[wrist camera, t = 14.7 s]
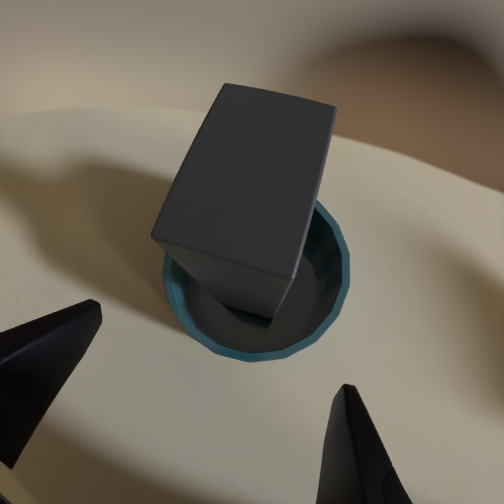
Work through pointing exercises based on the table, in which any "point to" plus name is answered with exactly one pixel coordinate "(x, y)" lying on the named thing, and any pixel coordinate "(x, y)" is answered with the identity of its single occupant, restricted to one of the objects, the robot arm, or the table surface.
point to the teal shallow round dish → (290, 312)
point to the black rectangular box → (247, 196)
